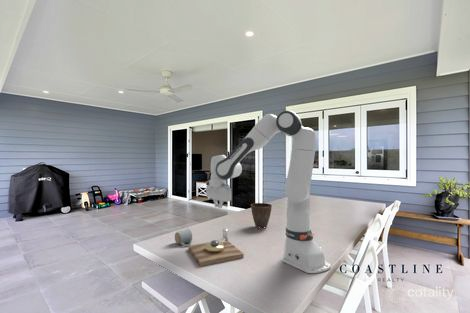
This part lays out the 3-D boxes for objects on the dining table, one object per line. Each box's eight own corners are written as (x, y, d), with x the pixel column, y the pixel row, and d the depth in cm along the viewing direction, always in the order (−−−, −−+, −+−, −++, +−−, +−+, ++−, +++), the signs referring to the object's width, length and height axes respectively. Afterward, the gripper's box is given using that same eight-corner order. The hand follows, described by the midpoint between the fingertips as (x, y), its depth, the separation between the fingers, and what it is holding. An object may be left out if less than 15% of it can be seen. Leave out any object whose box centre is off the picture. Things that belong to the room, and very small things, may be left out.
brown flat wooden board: (243, 257, 111) (243, 252, 111) (200, 266, 102) (200, 261, 102) (226, 243, 131) (226, 239, 131) (188, 249, 122) (188, 245, 122)
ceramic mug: (173, 243, 131) (173, 229, 131) (186, 239, 137) (186, 227, 137) (182, 248, 123) (182, 234, 123) (195, 245, 129) (195, 231, 129)
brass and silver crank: (234, 244, 122) (234, 230, 122) (216, 254, 110) (216, 238, 110) (219, 240, 128) (219, 227, 128) (200, 249, 115) (200, 234, 115)
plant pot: (271, 224, 169) (271, 203, 169) (272, 230, 154) (272, 207, 154) (251, 224, 170) (251, 202, 171) (250, 230, 156) (250, 206, 156)
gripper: (234, 184, 124) (234, 209, 123) (212, 181, 139) (212, 204, 139) (225, 184, 120) (225, 211, 119) (204, 182, 135) (204, 205, 135)
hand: (218, 207), depth 129 cm, fingers open, 2 cm apart
